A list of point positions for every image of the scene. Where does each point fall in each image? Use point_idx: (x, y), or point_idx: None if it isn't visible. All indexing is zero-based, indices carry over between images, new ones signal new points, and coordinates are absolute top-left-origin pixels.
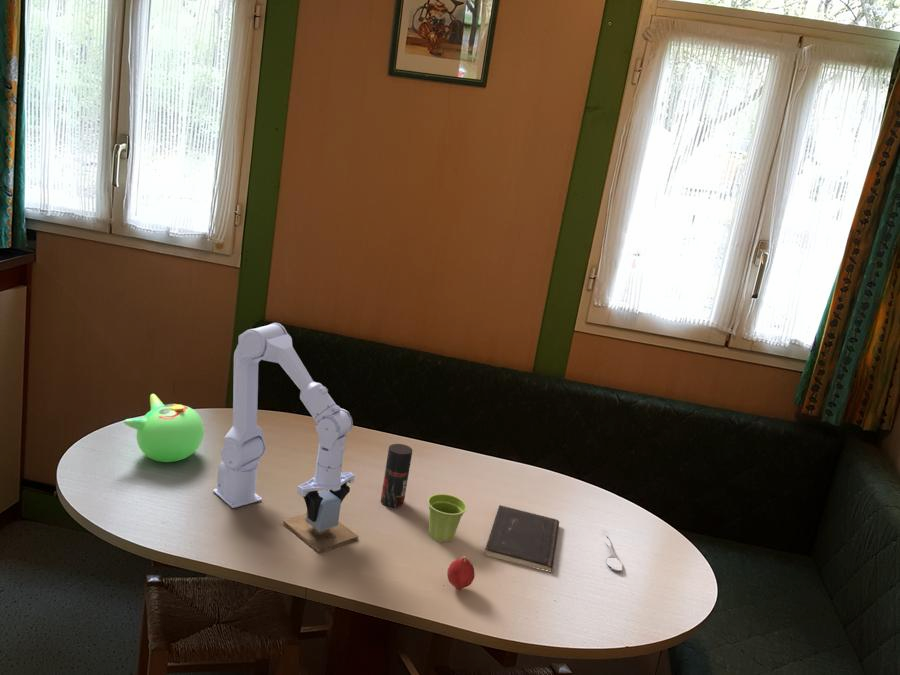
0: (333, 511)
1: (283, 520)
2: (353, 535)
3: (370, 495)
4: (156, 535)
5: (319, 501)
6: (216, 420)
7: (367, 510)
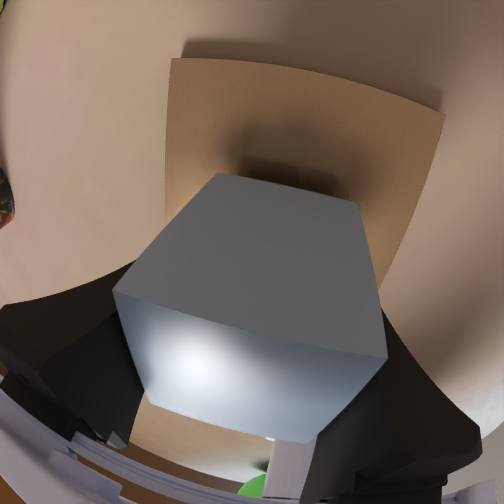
0: (238, 242)
1: None
2: (187, 75)
3: (26, 250)
4: (498, 408)
5: (419, 419)
6: (181, 460)
7: (48, 204)
